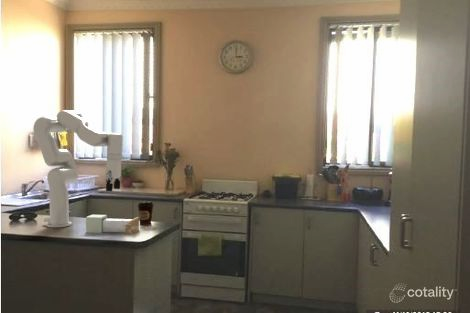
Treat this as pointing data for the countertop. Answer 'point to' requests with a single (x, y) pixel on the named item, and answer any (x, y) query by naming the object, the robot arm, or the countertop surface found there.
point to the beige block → (132, 226)
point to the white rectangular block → (114, 225)
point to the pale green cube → (94, 223)
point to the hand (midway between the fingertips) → (113, 189)
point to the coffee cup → (145, 212)
